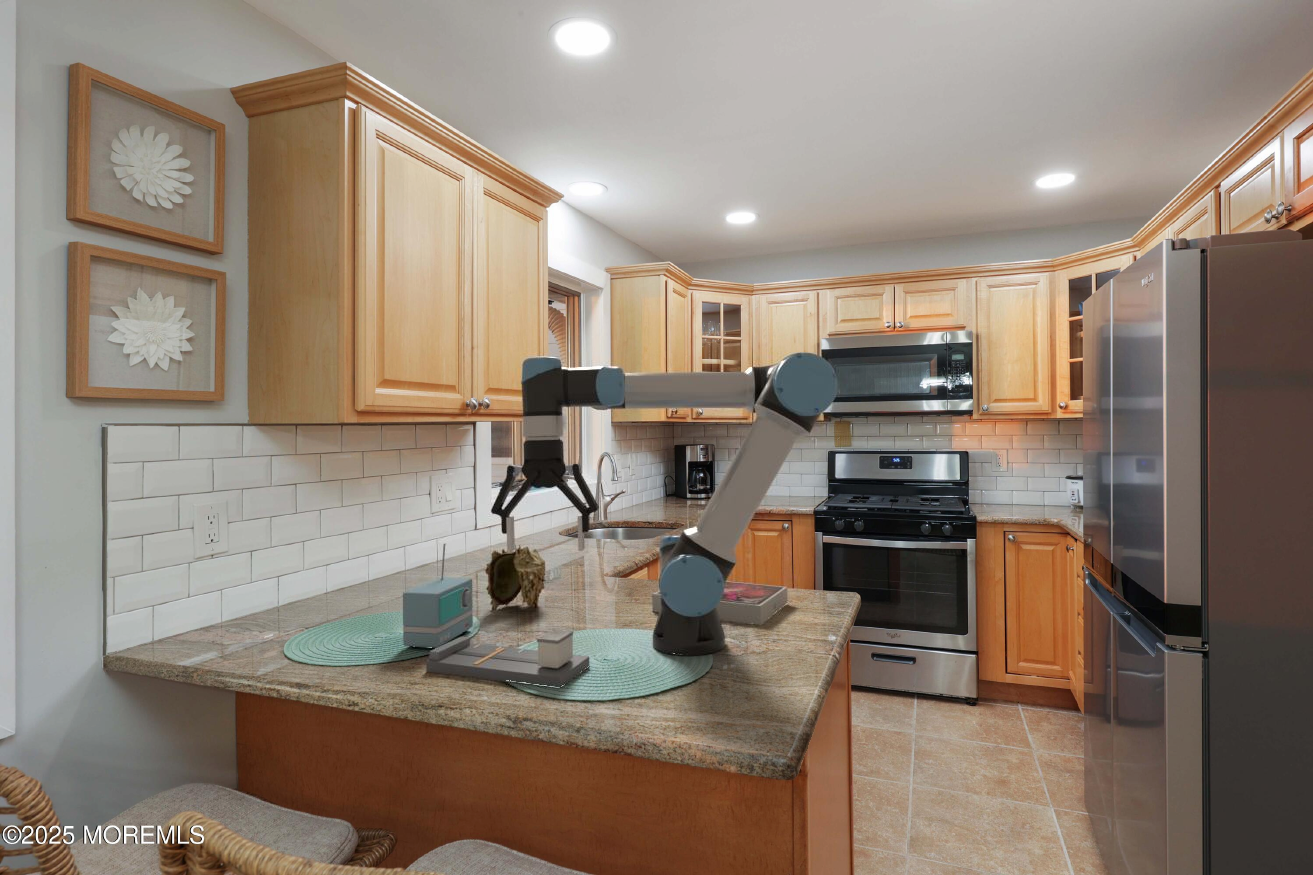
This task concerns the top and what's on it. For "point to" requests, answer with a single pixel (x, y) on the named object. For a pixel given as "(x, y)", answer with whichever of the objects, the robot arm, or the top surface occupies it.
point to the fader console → (500, 663)
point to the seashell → (515, 576)
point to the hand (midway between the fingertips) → (546, 550)
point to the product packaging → (744, 602)
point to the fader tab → (555, 648)
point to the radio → (437, 611)
